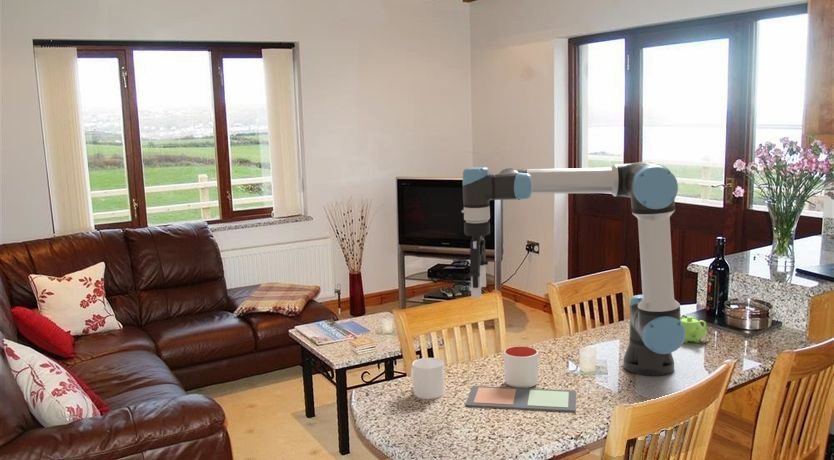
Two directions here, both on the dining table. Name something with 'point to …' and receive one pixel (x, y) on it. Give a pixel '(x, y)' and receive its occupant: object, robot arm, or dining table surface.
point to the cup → (521, 366)
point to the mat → (522, 398)
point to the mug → (428, 378)
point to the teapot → (693, 329)
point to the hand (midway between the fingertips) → (479, 292)
